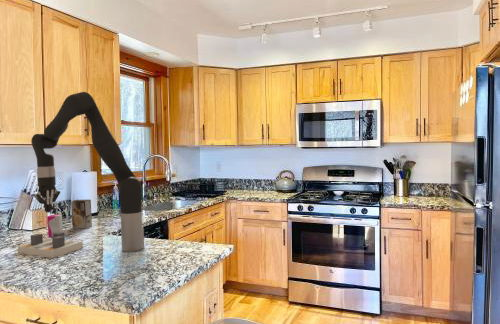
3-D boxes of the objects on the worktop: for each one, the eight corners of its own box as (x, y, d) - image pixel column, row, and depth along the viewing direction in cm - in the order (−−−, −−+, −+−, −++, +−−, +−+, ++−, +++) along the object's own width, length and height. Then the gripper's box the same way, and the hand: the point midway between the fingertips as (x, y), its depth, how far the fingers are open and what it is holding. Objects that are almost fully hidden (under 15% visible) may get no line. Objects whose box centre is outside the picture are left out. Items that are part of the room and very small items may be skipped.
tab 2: (60, 242, 173) (59, 231, 173) (64, 243, 172) (64, 232, 172) (53, 244, 170) (53, 233, 170) (58, 245, 169) (57, 234, 169)
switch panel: (49, 243, 179) (49, 237, 179) (82, 247, 170) (82, 241, 170) (17, 252, 164) (17, 245, 164) (52, 257, 156) (52, 250, 155)
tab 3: (59, 247, 165) (59, 236, 165) (64, 248, 164) (64, 236, 164) (52, 249, 162) (52, 237, 162) (57, 250, 161) (57, 238, 160)
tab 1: (38, 244, 171) (37, 233, 170) (42, 245, 169) (42, 234, 169) (31, 246, 167) (30, 235, 167) (35, 247, 166) (35, 235, 166)
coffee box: (92, 226, 216) (91, 199, 215) (86, 228, 210) (85, 201, 209) (78, 226, 217) (77, 199, 216) (71, 228, 211) (70, 201, 210)
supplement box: (63, 234, 196) (62, 213, 195) (60, 237, 190) (59, 215, 190) (51, 235, 195) (50, 214, 194) (48, 238, 189) (47, 216, 188)
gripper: (53, 174, 180) (54, 209, 181) (27, 177, 168) (29, 214, 169) (64, 174, 177) (65, 209, 178) (39, 177, 165) (41, 215, 166)
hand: (48, 212), depth 174 cm, fingers closed
